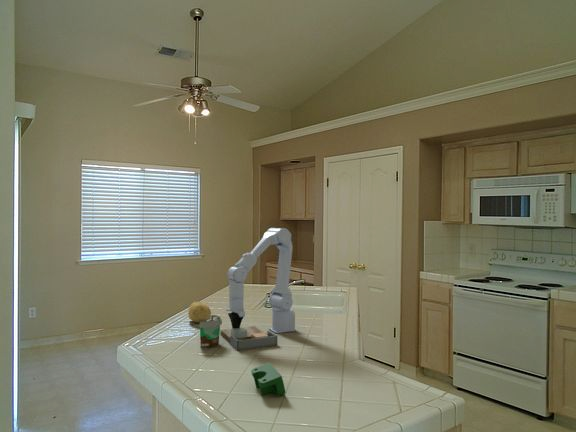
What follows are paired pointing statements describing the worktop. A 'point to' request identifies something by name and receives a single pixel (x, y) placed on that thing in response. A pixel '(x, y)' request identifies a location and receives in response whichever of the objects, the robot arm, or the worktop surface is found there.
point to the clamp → (268, 379)
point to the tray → (254, 342)
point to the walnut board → (250, 330)
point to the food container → (210, 332)
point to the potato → (199, 312)
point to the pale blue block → (239, 332)
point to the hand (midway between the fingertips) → (235, 331)
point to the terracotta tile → (258, 335)
